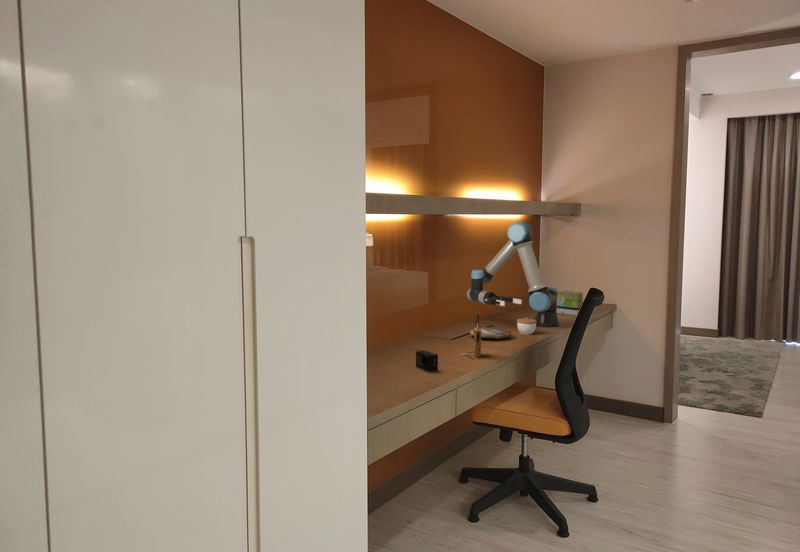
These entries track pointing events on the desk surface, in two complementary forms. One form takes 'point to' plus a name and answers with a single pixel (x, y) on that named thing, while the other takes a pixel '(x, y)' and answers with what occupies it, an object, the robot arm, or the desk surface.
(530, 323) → the lidded jar
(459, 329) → the desk surface
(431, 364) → the digital camera
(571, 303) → the tea box
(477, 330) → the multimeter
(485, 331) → the turntable
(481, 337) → the turntable pedestal
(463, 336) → the desk surface
